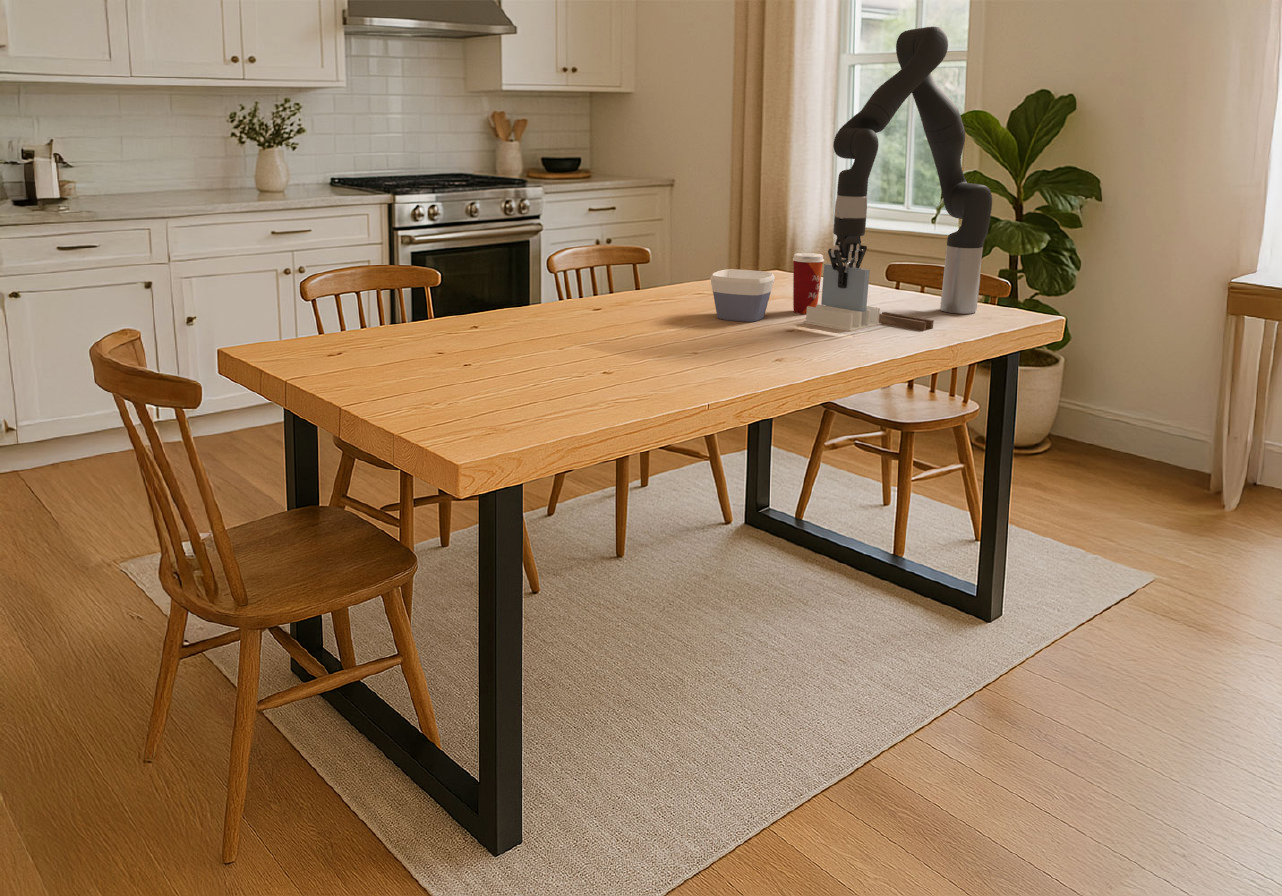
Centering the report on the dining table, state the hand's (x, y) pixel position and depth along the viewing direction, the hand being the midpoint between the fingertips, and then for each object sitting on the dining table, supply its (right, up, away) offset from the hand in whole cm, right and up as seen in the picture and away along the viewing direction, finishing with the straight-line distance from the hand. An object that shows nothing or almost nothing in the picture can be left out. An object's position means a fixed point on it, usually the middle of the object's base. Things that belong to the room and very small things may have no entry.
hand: (844, 287), depth 265 cm
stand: (+15, -10, +2) cm, 18 cm away
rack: (0, -9, +3) cm, 10 cm away
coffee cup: (-7, -4, +21) cm, 22 cm away
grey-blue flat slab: (0, -5, +2) cm, 5 cm away
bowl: (-24, -6, +12) cm, 28 cm away
